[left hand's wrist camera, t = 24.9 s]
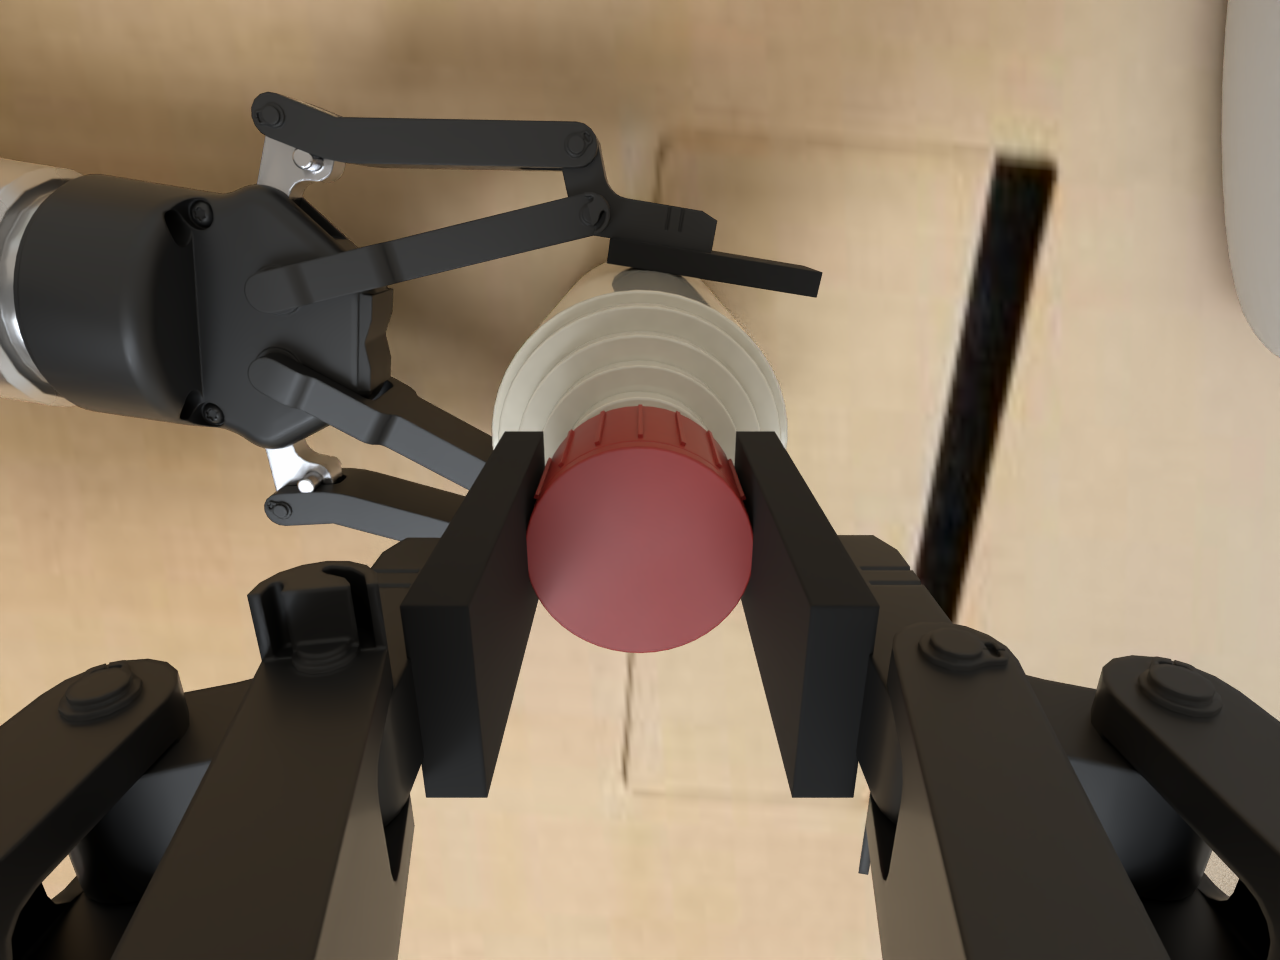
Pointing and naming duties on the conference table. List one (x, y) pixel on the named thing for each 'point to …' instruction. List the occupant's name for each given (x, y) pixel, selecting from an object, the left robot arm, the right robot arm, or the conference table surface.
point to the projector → (1253, 161)
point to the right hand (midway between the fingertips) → (780, 400)
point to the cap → (639, 531)
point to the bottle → (639, 361)
